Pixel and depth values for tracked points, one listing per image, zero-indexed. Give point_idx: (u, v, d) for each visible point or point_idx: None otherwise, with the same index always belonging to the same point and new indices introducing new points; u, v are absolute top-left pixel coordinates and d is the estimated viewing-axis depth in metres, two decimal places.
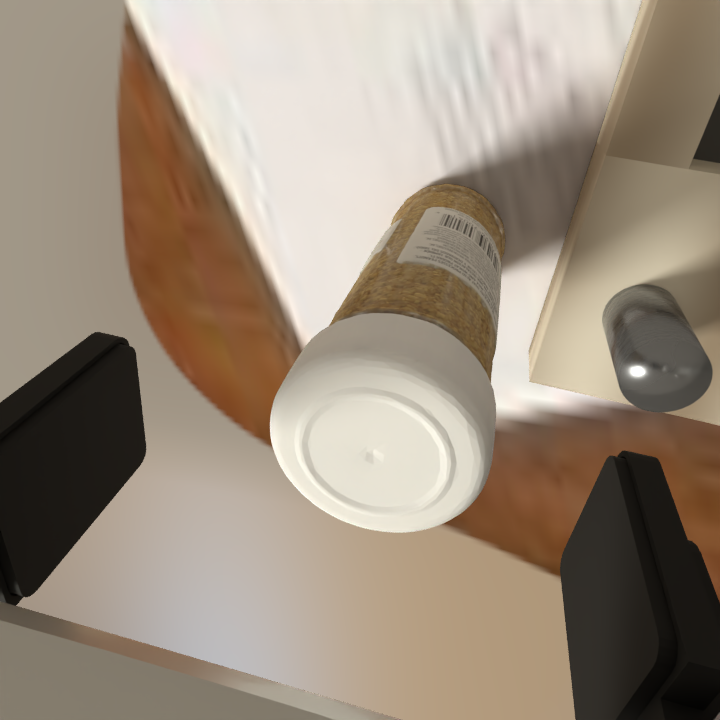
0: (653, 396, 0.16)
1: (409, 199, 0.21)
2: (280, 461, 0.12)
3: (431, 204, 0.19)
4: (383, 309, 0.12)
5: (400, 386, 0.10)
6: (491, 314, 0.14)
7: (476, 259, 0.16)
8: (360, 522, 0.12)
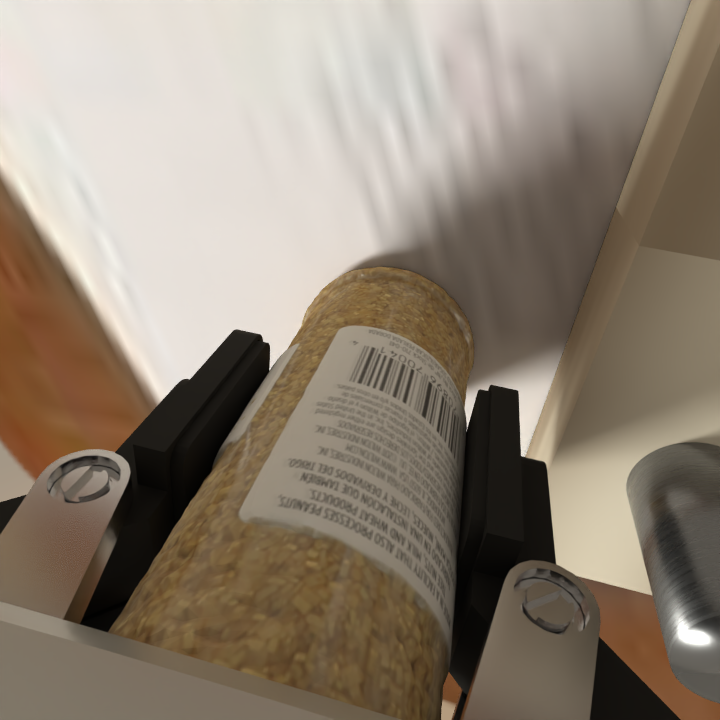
0: None
1: (326, 289, 0.14)
2: None
3: (350, 315, 0.12)
4: None
5: None
6: (438, 615, 0.07)
7: (413, 463, 0.08)
8: None
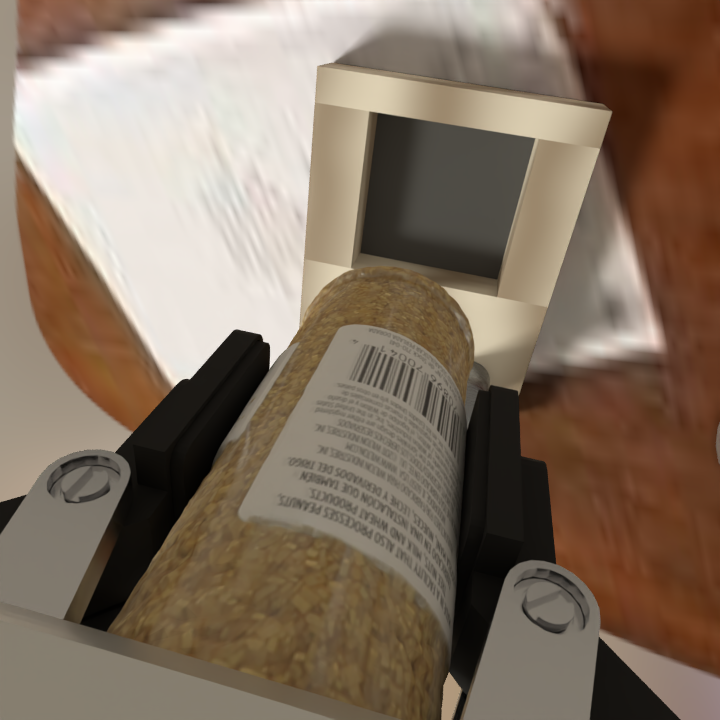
0: None
1: (326, 288, 0.14)
2: None
3: (350, 314, 0.11)
4: None
5: None
6: (438, 615, 0.07)
7: (413, 463, 0.08)
8: None
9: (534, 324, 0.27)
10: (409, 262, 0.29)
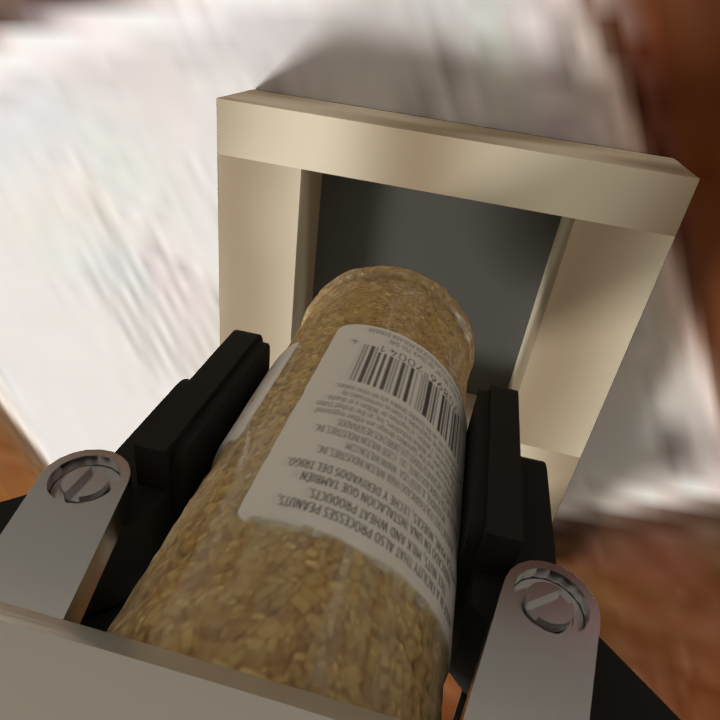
0: None
1: (326, 288, 0.14)
2: None
3: (350, 314, 0.11)
4: None
5: None
6: (438, 615, 0.07)
7: (413, 462, 0.08)
8: None
9: (559, 478, 0.18)
10: None
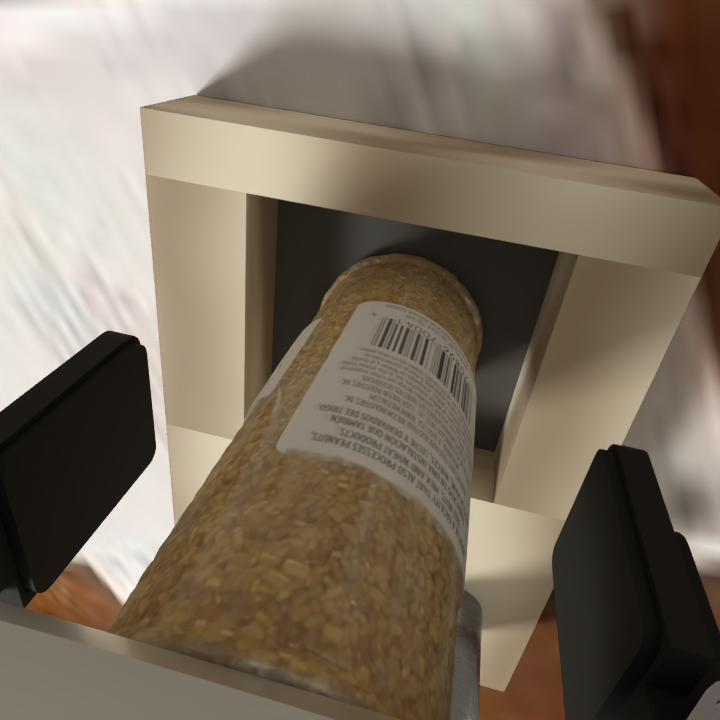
0: None
1: (343, 275, 0.15)
2: None
3: (368, 294, 0.12)
4: (192, 644, 0.05)
5: None
6: (454, 542, 0.08)
7: (429, 414, 0.09)
8: None
9: None
10: None
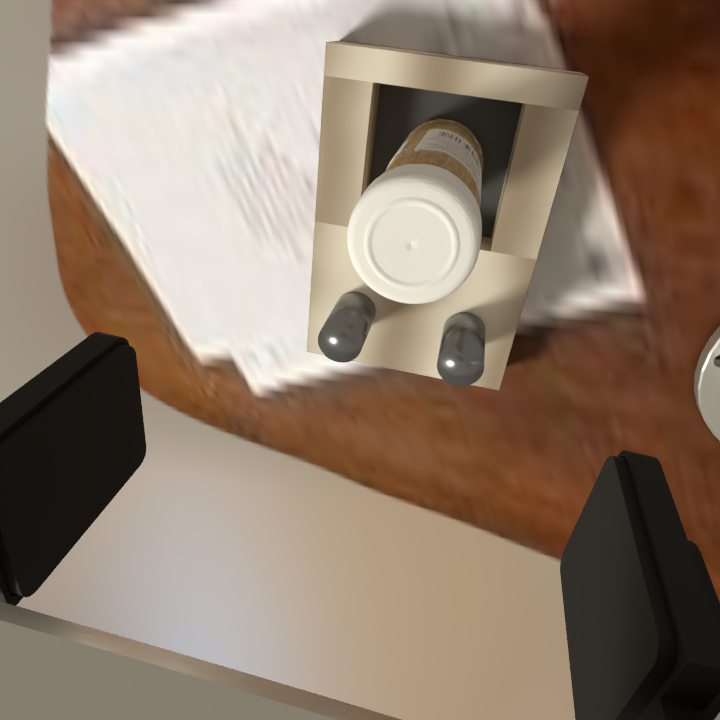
0: (338, 353, 0.30)
1: (412, 131, 0.29)
2: (353, 258, 0.19)
3: (430, 129, 0.27)
4: None
5: (428, 193, 0.18)
6: (476, 183, 0.22)
7: (464, 153, 0.23)
8: (402, 297, 0.20)
9: (524, 276, 0.30)
10: None
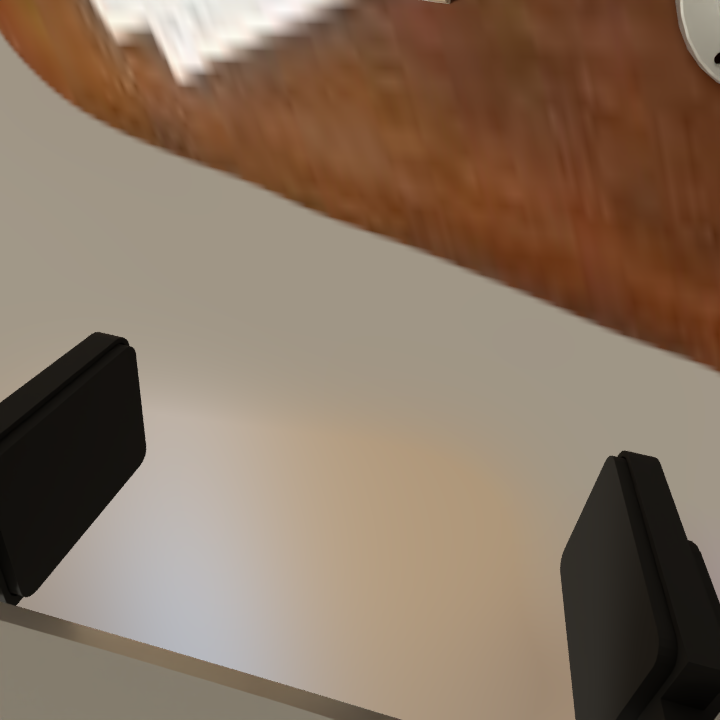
0: None
1: None
2: None
3: None
4: None
5: None
6: None
7: None
8: None
9: None
10: None
